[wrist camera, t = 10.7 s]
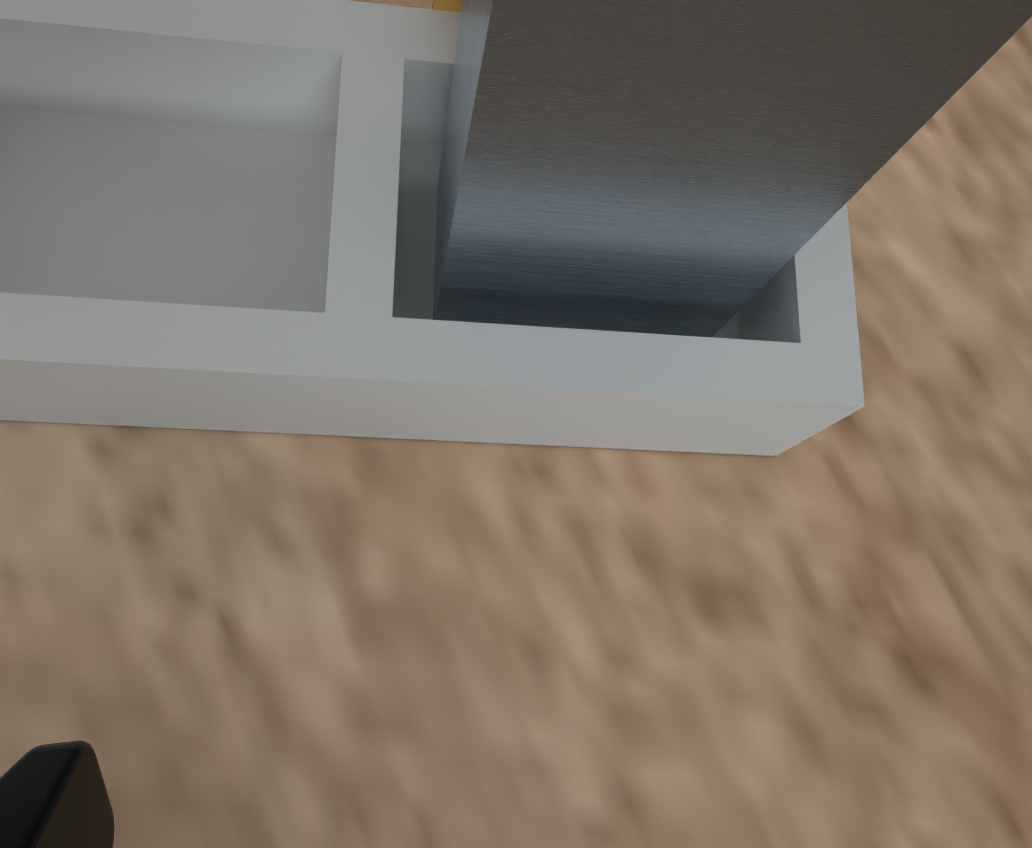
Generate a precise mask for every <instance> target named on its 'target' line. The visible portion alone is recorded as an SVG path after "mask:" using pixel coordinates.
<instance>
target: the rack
mask: <svg viewBox="0 0 1032 848" xmlns="http://www.w3.org/2000/svg"><path fill="white" fill-rule="evenodd" d="M462 2H463V0H433V2H432V9H425V8H416V7H407V6H397V5H388V4H379V3H370V2H360V1H351V0H0V420H8V421H30V422H51V423H73V424H95V425H117V426H138V427H160V428H182V429H203V430H225V431H247V432H268V433H290V434H312V435H333V436H355V437H377V438H398V439H420V440H442V441H463V442H485V443H507V444H528V445H550V446H572V447H594V448H615V449H637V450H659V451H680V452H702V453H724V454H745V455H767V456H777V455H778V454H780V453H782V452H784V451H786V450H787V449H789V448H791V447H793V446H794V445H796V444H798V443H800V442H802V441H803V440H805V439H807V438H809V437H811V436H812V435H814V434H816V433H818V432H820V431H821V430H823V429H825V428H827V427H828V426H830V425H832V424H834V423H836V422H837V421H839V420H841V419H843V418H845V417H846V416H848V415H850V414H852V413H853V412H855V411H857V410H859V409H861V408H862V407H864V406H865V404H864V392H863V381H862V369H861V358H860V346H859V335H858V324H857V312H856V301H855V289H854V278H853V266H852V255H851V243H850V232H849V220H848V209H847V203H846V204H845V205H844V206H843V207H842V208H841V209H840V210H839V211H838V212H837V213H836V214H835V215H834V216H833V217H832V218H831V219H830V220H829V221H828V222H827V223H826V224H825V225H824V226H823V227H822V228H821V229H820V230H819V231H818V232H817V233H816V234H815V235H814V236H813V237H812V238H811V239H810V240H809V241H808V242H807V243H806V244H805V245H804V246H803V247H802V248H801V249H800V250H799V251H798V252H797V253H796V254H795V255H794V256H793V257H792V258H791V259H790V260H789V261H788V262H787V263H786V264H785V265H784V266H783V267H782V268H781V269H780V270H779V271H778V272H777V273H776V274H775V275H774V276H773V277H772V278H771V279H770V280H769V281H768V282H767V283H766V284H765V285H764V286H763V287H762V288H761V289H760V290H759V291H758V292H757V293H756V294H755V295H754V296H753V297H752V298H751V299H750V300H749V301H748V302H747V303H746V304H745V305H744V306H743V307H742V308H741V309H740V310H739V311H738V312H737V313H736V314H735V315H734V316H733V317H732V318H731V319H730V320H729V321H728V322H727V323H726V324H725V325H724V326H723V327H722V328H721V329H720V330H719V331H718V332H717V333H716V334H715V335H714V336H713V337H697V336H681V335H665V334H650V333H634V332H618V331H602V330H586V329H571V328H555V327H539V326H523V325H508V324H492V323H476V322H460V321H444V320H433V299H434V271H435V243H436V215H437V187H438V175H439V168H440V161H441V153H442V146H443V139H444V132H445V125H446V117H447V110H448V103H449V96H450V89H451V81H452V74H453V67H454V60H455V53H456V45H457V38H458V31H459V24H460V17H461V9H462Z"/></svg>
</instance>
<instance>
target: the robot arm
mask: <svg viewBox="0 0 1032 848" xmlns="http://www.w3.org/2000/svg"><path fill="white" fill-rule="evenodd" d="M113 841H114V817H113V811H112V807H111V804H110V801H109V797H108V794H107V791H106V787H105V784H104V781H103V777H102V774H101V771H100V767H99V764H98V761H97V757H96V754H95V752H94V750H93V748H92V747H91V745H90V744H89V743H87V742H84V741H71V742H62V743H53V744H44V745H40V746H37V747H35V748H33V749H31V750H30V751H29V752H27V753H26V754H25V755H24V756H23V757H22V758H21V759H20V760H19V761H18V762H17V763H16V764H15V765H13V766H12V767H11V768H10V769H9V770H8V771H7V772H6V773H5V774H4V775H3V776H2V777H1V778H0V848H113Z"/></svg>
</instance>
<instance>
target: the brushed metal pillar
mask: <svg viewBox="0 0 1032 848" xmlns="http://www.w3.org/2000/svg"><path fill="white" fill-rule="evenodd" d="M1031 16H1032V0H463V2H462V9H461V17H460V24H459V31H458V38H457V45H456V53H455V60H454V67H453V74H452V81H451V89H450V96H449V103H448V110H447V117H446V125H445V132H444V139H443V146H442V153H441V161H440V168H439V175H438V187H437V215H436V243H435V271H434V299H433V320H444V321H460V322H476V323H492V324H508V325H523V326H539V327H555V328H571V329H586V330H602V331H618V332H634V333H650V334H665V335H681V336H697V337H713V336H714V335H715V334H716V333H717V332H718V331H719V330H720V329H721V328H722V327H723V326H724V325H725V324H726V323H727V322H728V321H729V320H730V319H731V318H732V317H733V316H734V315H735V314H736V313H737V312H738V311H739V310H740V309H741V308H742V307H743V306H744V305H745V304H746V303H747V302H748V301H749V300H750V299H751V298H752V297H753V296H754V295H755V294H756V293H757V292H758V291H759V290H760V289H761V288H762V287H763V286H764V285H765V284H766V283H767V282H768V281H769V280H770V279H771V278H772V277H773V276H774V275H775V274H776V273H777V272H778V271H779V270H780V269H781V268H782V267H783V266H784V265H785V264H786V263H787V262H788V261H789V260H790V259H791V258H792V257H793V256H794V255H795V254H796V253H797V252H798V251H799V250H800V249H801V248H802V247H803V246H804V245H805V244H806V243H807V242H808V241H809V240H810V239H811V238H812V237H813V236H814V235H815V234H816V233H817V232H818V231H819V230H820V229H821V228H822V227H823V226H824V225H825V224H826V223H827V222H828V221H829V220H830V219H831V218H832V217H833V216H834V215H835V214H836V213H837V212H838V211H839V210H840V209H841V208H842V207H843V206H844V205H845V204H846V203H847V202H848V201H849V200H850V199H851V198H852V197H853V196H854V195H855V194H856V193H857V192H858V191H859V189H860V188H861V187H862V186H863V185H864V184H865V183H866V182H867V181H868V180H869V179H870V178H871V177H872V176H873V175H874V174H875V173H876V172H877V171H878V170H879V169H880V168H881V167H882V166H883V165H884V164H885V163H886V162H887V161H888V160H889V159H890V158H891V157H892V156H893V155H894V154H895V153H896V152H897V151H898V150H899V149H900V148H901V147H902V146H903V145H904V144H905V143H906V142H907V141H908V140H909V139H910V138H911V137H912V136H913V135H914V134H915V133H916V132H917V131H918V130H919V129H920V128H921V127H922V126H923V125H924V124H925V123H926V122H927V121H928V120H929V119H930V118H931V117H932V116H933V115H934V114H935V113H936V112H937V111H938V110H939V109H940V108H941V107H942V106H943V105H944V104H945V103H946V102H947V101H948V100H949V99H950V98H951V97H952V96H953V95H954V94H955V93H956V92H957V91H958V90H959V89H960V88H961V87H962V86H963V85H964V84H965V83H966V82H967V81H968V80H969V79H970V78H971V77H972V76H973V75H974V74H975V73H976V72H977V71H978V70H979V69H980V68H981V67H982V66H983V65H984V64H985V63H986V62H987V61H988V60H989V59H990V58H991V57H992V56H993V55H994V54H995V53H996V52H997V51H998V50H999V49H1000V48H1001V47H1002V46H1003V45H1004V44H1005V43H1006V42H1007V41H1008V40H1009V39H1010V38H1011V37H1012V36H1013V35H1014V34H1015V33H1016V32H1017V31H1018V30H1019V29H1020V28H1021V26H1022V25H1023V24H1024V23H1025V22H1026V21H1027V20H1028V19H1029V18H1030V17H1031Z"/></svg>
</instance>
